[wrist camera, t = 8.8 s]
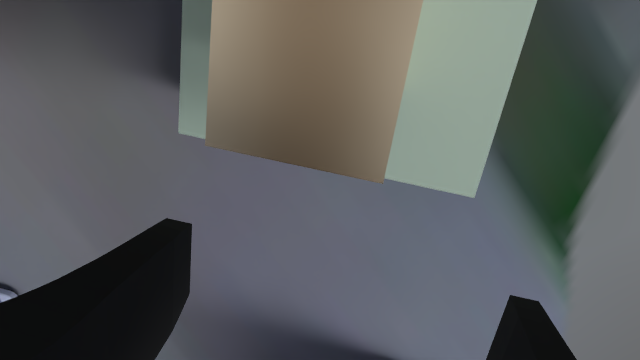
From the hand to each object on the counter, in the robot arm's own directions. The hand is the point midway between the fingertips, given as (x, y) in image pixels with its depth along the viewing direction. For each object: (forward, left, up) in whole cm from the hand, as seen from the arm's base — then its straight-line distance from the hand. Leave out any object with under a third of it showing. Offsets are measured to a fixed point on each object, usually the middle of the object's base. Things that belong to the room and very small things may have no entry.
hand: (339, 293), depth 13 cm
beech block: (-2, +5, -7) cm, 8 cm away
